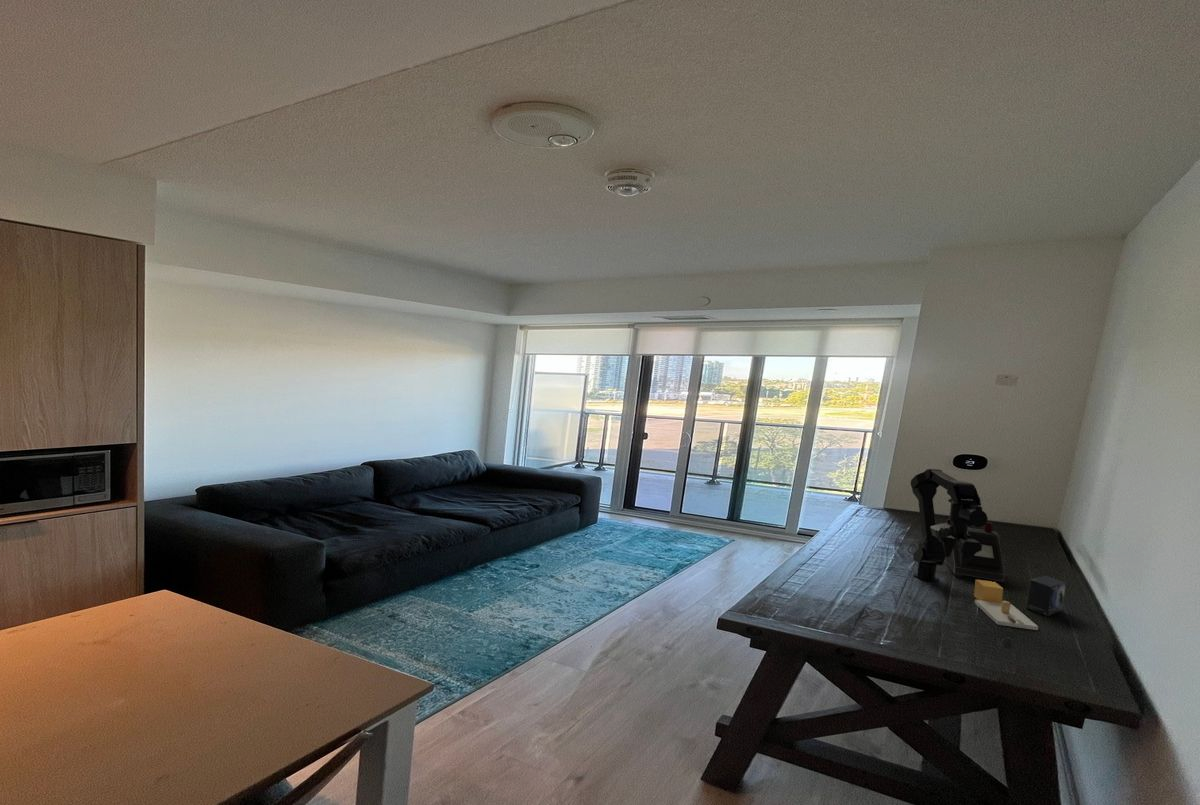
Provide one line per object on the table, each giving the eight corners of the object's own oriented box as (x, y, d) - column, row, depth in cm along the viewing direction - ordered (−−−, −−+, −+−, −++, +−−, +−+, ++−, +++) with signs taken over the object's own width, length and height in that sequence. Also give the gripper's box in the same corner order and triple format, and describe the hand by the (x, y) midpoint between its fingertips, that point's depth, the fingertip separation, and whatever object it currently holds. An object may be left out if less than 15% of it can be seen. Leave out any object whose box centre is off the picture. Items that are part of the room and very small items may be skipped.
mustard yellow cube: (973, 595, 190) (975, 579, 190) (993, 598, 189) (994, 581, 188) (981, 602, 184) (983, 586, 184) (1001, 605, 183) (1003, 588, 183)
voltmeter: (953, 577, 208) (958, 526, 206) (944, 563, 223) (949, 516, 221) (1003, 585, 202) (1009, 533, 200) (990, 570, 217) (995, 522, 215)
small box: (1048, 617, 176) (1051, 586, 175) (1025, 608, 182) (1028, 579, 181) (1063, 611, 181) (1067, 581, 180) (1040, 603, 186) (1044, 574, 186)
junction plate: (974, 603, 184) (976, 589, 184) (1011, 608, 181) (1012, 594, 181) (998, 625, 168) (999, 610, 168) (1038, 631, 165) (1040, 616, 165)
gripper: (921, 509, 196) (917, 550, 197) (950, 524, 177) (945, 569, 179) (953, 511, 195) (948, 553, 196) (985, 527, 176) (980, 572, 178)
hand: (954, 561), depth 187 cm, fingers open, 9 cm apart
